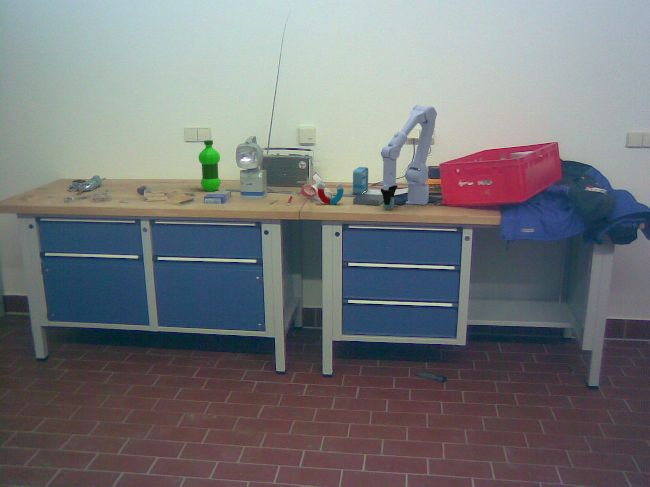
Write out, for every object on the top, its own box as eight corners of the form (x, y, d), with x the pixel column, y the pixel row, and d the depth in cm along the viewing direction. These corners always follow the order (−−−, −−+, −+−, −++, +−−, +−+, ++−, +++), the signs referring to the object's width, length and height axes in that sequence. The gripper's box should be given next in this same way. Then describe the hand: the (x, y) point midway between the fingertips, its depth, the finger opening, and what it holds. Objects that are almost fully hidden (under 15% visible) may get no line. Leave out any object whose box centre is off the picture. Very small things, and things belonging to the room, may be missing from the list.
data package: (361, 195, 318) (361, 170, 315) (352, 194, 320) (352, 170, 316) (368, 190, 329) (368, 166, 326) (359, 189, 331) (359, 166, 327)
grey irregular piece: (80, 185, 347) (108, 183, 345) (53, 201, 321) (83, 199, 319) (77, 175, 345) (105, 172, 343) (50, 190, 319) (80, 187, 317)
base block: (384, 200, 307) (384, 195, 307) (378, 205, 296) (378, 200, 296) (359, 198, 311) (359, 193, 310) (353, 204, 300) (353, 198, 299)
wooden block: (393, 206, 294) (394, 197, 293) (392, 208, 291) (392, 199, 289) (385, 206, 296) (385, 196, 294) (383, 208, 292) (383, 198, 291)
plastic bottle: (222, 191, 327) (220, 141, 320) (201, 192, 324) (198, 142, 317) (220, 187, 336) (218, 139, 329) (200, 188, 334) (197, 139, 327)
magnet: (343, 203, 301) (343, 182, 298) (343, 205, 298) (343, 183, 295) (318, 203, 301) (318, 182, 299) (317, 204, 299) (317, 183, 296)
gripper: (384, 169, 296) (383, 199, 300) (377, 175, 283) (376, 205, 287) (399, 170, 294) (398, 200, 298) (393, 176, 281) (392, 206, 285)
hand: (388, 203), depth 292 cm, fingers open, 7 cm apart
